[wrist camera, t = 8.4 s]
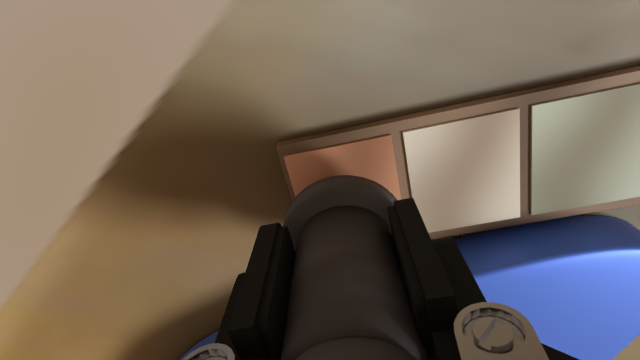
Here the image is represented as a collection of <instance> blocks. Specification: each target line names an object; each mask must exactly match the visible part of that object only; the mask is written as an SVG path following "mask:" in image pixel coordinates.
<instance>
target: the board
mask: <svg viewBox="0 0 640 360" xmlns="http://www.w3.org/2000/svg"><path fill="white" fill-rule="evenodd" d="M276 150H277V153H278V157H279V160H280V164H281V167H282V170H283V174H284V177H285V180H286V184H287V187H288V190H289V194H290V197H291V201H293V199H294V198H295V197H296V196H297V195H298V194H299V193H300V192H301V191H302V190H303V189H305V188H306V187H307V186H309V185H310V184H312V183H314V182H316V181H319V180H321V179H324V178H327V177H331V176H338V175H353V176H360V177H364V178H367V179H370V180H373V181H375V182H377V183H379V184H381V185H382V186H384V187H385V188H386V189H388V190H389V191H390V192H391V193H392V194H393V195H394V196H395V198H396V199H397V200H401V199H407V198H412V197H413V199H414V201H415V203H416V206H417V208H418V210H419V212H420V215H421V217H422V219H423V222H424V224H425V226H426V229H427V231H428V233H429V236H430V238H431V240H432V239H438V238H443V237H449V236H455V235H461V234H467V233H473V232H479V231H485V230H491V229H497V228H503V227H509V226H514V225H520V224H526V223H532V222H538V221H544V220H550V219H556V218H562V217H568V216H574V215H580V214H585V213H591V212H597V211H603V210H609V209H615V208H621V207H627V206H633V205H639V204H640V66H636V67H631V68H626V69H621V70H617V71H612V72H607V73H603V74H598V75H593V76H588V77H584V78H579V79H574V80H569V81H565V82H560V83H555V84H550V85H546V86H541V87H536V88H531V89H527V90H522V91H517V92H513V93H508V94H503V95H498V96H494V97H489V98H484V99H479V100H475V101H470V102H465V103H460V104H456V105H451V106H446V107H441V108H437V109H432V110H427V111H423V112H418V113H413V114H408V115H404V116H399V117H394V118H389V119H385V120H380V121H375V122H370V123H366V124H361V125H356V126H351V127H347V128H342V129H337V130H333V131H328V132H323V133H318V134H314V135H309V136H304V137H299V138H295V139H290V140H285V141H280V142H277V145H276Z"/></svg>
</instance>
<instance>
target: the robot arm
mask: <svg viewBox="0 0 640 360" xmlns="http://www.w3.org/2000/svg"><path fill="white" fill-rule="evenodd" d="M387 209H388V215H389V220H390V226H391V232H392V237H393V240H394V244H395V248H396V251H397V255H398V259H399V262H400V266H401V270H402V273H403V277H404V281H405V284H406V288H407V292H408V295H409V299H410V303H411V306H412V310H413V314H414V317H415V321H416V325H417V328H418V332H419V336H420V339H421V343H422V344H423V346H424V348H425V350H426V352H427V356H428V359H429V360H579V359H577V358H575V357H572V356H570V355H568V354H565V353H563V352H561V351H559V350H556V349H554V348H552V347H549V346H547V345H545V344H542V343H541V342H540V340H539V338H538V336H537V334H536V332H535V330H534V328H533V326H532V325H531V323H530V322H529V321H528V319H527V318H526V317H525V316H524V315H522V314H521V313H520V312H519V311H517V310H515V309H513V308H511V307H509V306H507V305H503V304H499V303H495V302H487V301H486V299H485V297H484V295H483V294H482V292H481V290H480V288H479V286H478V284H477V282H476V280H475V278H474V277H473V275H472V273H471V271H470V269H469V267H468V265H467V263H466V262H465V260H464V258H463V256H462V254H461V252H460V250H459V248H458V246H457V245H456V243H455V241H454V239H453V238H452V237H447V238H441V239H436V240H431V238H430V236H429V233H428V231H427V229H426V226H425V224H424V222H423V219H422V217H421V215H420V212H419V210H418V208H417V206H416V203H415V201H414V199H413V197H412V198H407V199H401V200H396V201H394V206H391V207H387ZM294 258H295V249H294V245H293V242H292V239H291V236H290V233H289V230H288V227H287V226H284V227H282V226H281V224H280V223H274V224H269V225H263V226H260V228H259V231H258V234H257V238H256V241H255V244H254V247H253V250H252V254H251V257H250V260H249V263H248V266H247V270H246V273H241V274H239V275H238V277H237V279H236V281H235V284H234V287H233V290H232V293H231V296H230V299H229V302H228V305H227V308H226V311H225V314H224V317H223V320H222V323H221V326H220V329H219V332H218V334H217V337H216V340H215V343H213V344H207V345H205V346H202V347H199V348H197V349H196V350H194V351H192V352H191V353H189V354H188V355H187V356H186V357H185V358H183V359H182V360H281V353H282V345H283V338H284V331H285V324H286V316H287V309H288V302H289V295H290V287H291V280H292V273H293V266H294Z"/></svg>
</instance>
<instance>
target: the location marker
mask: <svg viewBox="0 0 640 360" xmlns="http://www.w3.org/2000/svg"><path fill="white" fill-rule="evenodd" d="M454 241H455V243H456V245H457V246H458V248H459V250H460V252H461V254H462V256H463V258H464V260H465V262H466V263H467V265H468V267H469V269H470V271H471V273H472V275H473V277H474V278H475V280H476V282H477V284H478V286H479V288H480V290H481V292H482V294H483V295H484V297H485V299H486V301H487V302H495V303H499V304H503V305H507V306H509V307H511V308H513V309H515V310H517V311H519V312H520V313H521V314H522V315H524V316H525V317H526V318H527V319H528V321H529V322H530V323H531V325H532V326H533V328H534V330H535V332H536V334H537V336H538V338H539V340H540V342H541V343H542V344H545V345H547V346H549V347H552V348H554V349H556V350H559V351H561V352H563V353H565V354H568V355H570V356H572V357H575V358H577V359H579V360H612V359H613V358H614V357H615V356H616V355H617V354H619V353H620V352H621V351H622V350H623V349H624V348H625V347H626V346H627V345H629V344H630V343H631V342H632V341H633V340H634V339H635V338H636V337H637V336H638V335H639V334H640V230H639V229H637V228H636V227H634V226H633V225H631V224H630V223H629V222H627V221H625V220H622V219H619V218H616V217H610V216H600V215H582V216H568V217H562V218H556V219H550V220H544V221H538V222H532V223H526V224H520V225H514V226H509V227H503V228H498V229H493V230H489V231H485V232H481V233H477V234H473V235H469V236H465V237H461V238H458V239H454ZM218 332H219V330H218V331H216V332H215V333H213V334H211V335H210V336H208V337H206V338H205V339H203V340H202V341H200V342H199V343H197V344H196V345H195V346H193V347H192V348H191V349H190V350H188V351H187V352H186V353H185V354H184V355H183V356H182V357H181V358H180V359H179V360H182V359H183V358H185V357H186V356H187V355H188V354H189V353H191V352H192V351H194V350H196V349H197V348H199V347H202V346H205V345H207V344H213V343H215V340H216V337H217V334H218Z"/></svg>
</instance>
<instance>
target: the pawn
mask: <svg viewBox="0 0 640 360" xmlns="http://www.w3.org/2000/svg"><path fill="white" fill-rule="evenodd" d="M396 200H397V199H396V198H395V196H394V195H393V194H392V193H391V192H390V191H389V190H388V189H386V188H385V187H384V186H382V185H381V184H379V183H377V182H375V181H373V180H370V179H367V178H364V177H360V176H353V175H338V176H331V177H327V178H324V179H321V180H319V181H316V182H314V183H312V184H310V185H309V186H307V187H306V188H305V189H303V190H302V191H301V192H300V193H299V194H298V195H297V196H296V197H295V198H294V199H293V201H292V202H291V204H290V206H289V207H288V210H287V212H286V215H285V219H284V224H283V227H284V226H287V227H288V230H289V233H290V236H291V239H292V242H293V245H294V249H295V258H294V266H293V273H292V280H291V287H290V295H289V302H288V309H287V316H286V324H285V331H284V338H283V345H282V353H281V360H429V359H428V356H427V352H426V350H425V348H424V346H423V344H422V343H421V339H420V336H419V332H418V328H417V325H416V321H415V317H414V314H413V310H412V306H411V303H410V299H409V295H408V292H407V288H406V284H405V281H404V277H403V273H402V270H401V266H400V262H399V259H398V255H397V251H396V248H395V244H394V240H393V237H392V232H391V226H390V220H389V215H388V209H387V207H391V206H394V201H396Z"/></svg>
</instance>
